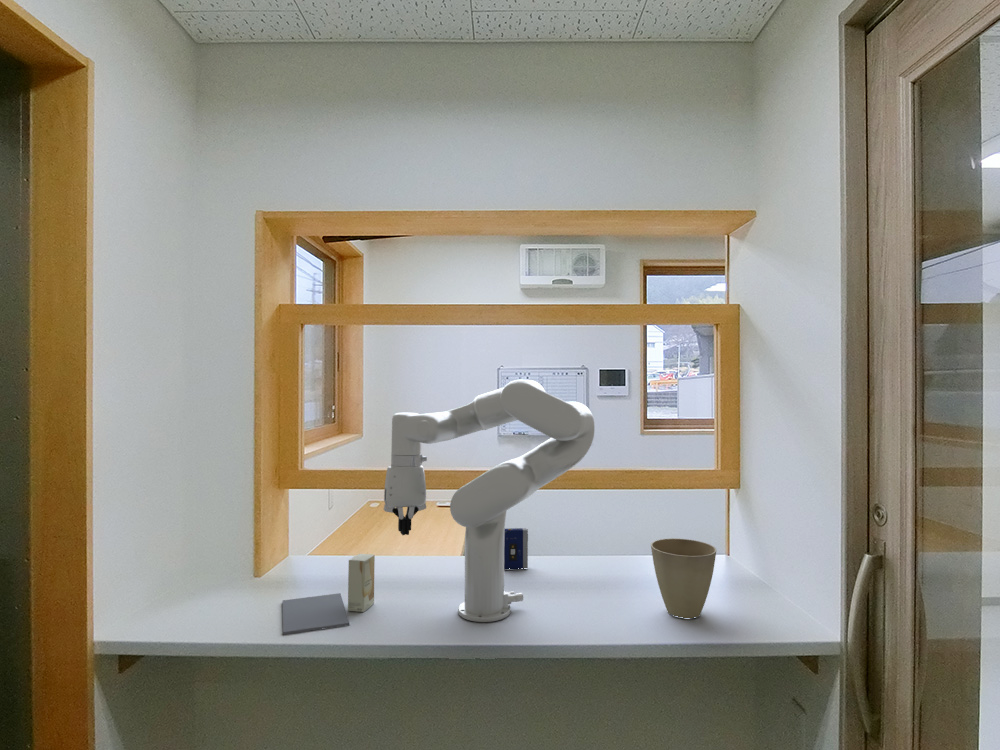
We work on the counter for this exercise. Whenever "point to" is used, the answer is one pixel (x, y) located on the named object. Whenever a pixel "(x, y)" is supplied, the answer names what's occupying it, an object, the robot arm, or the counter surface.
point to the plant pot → (683, 574)
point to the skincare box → (361, 582)
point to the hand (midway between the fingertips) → (404, 533)
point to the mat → (313, 613)
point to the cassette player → (516, 548)
